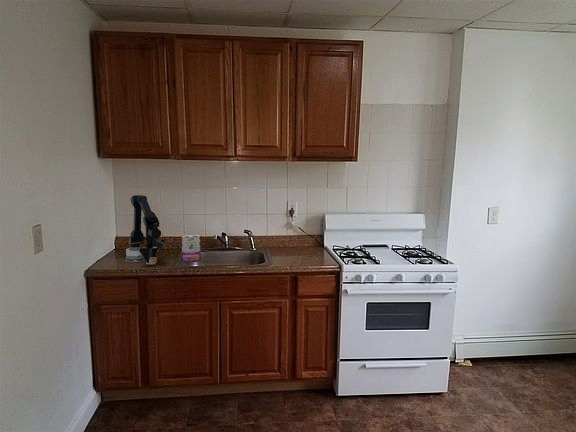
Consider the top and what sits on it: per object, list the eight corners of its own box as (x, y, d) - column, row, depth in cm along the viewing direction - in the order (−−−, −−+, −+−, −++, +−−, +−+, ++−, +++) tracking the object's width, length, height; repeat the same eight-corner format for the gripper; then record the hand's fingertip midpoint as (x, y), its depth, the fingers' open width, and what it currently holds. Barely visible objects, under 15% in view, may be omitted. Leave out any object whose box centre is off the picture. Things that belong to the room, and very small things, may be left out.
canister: (131, 257, 239) (131, 246, 238) (149, 258, 238) (149, 247, 237) (121, 262, 227) (121, 250, 226) (141, 263, 226) (140, 251, 226)
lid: (148, 261, 230) (148, 257, 230) (158, 262, 230) (158, 257, 229) (144, 264, 224) (144, 259, 224) (154, 264, 224) (153, 260, 224)
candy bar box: (200, 260, 237) (200, 234, 235) (200, 262, 233) (200, 236, 231) (181, 260, 234) (181, 235, 232) (181, 262, 230) (181, 236, 227)
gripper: (157, 239, 215) (157, 265, 217) (169, 233, 234) (170, 257, 236) (138, 238, 216) (139, 264, 218) (152, 232, 234) (152, 257, 236)
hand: (151, 261), depth 227 cm, fingers open, 9 cm apart
